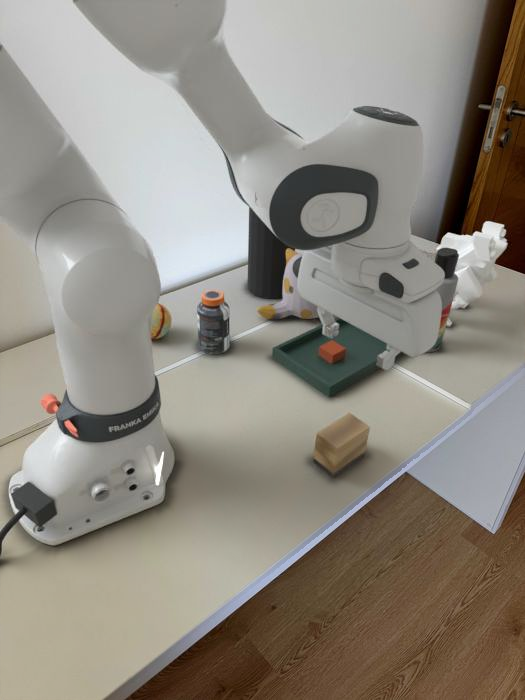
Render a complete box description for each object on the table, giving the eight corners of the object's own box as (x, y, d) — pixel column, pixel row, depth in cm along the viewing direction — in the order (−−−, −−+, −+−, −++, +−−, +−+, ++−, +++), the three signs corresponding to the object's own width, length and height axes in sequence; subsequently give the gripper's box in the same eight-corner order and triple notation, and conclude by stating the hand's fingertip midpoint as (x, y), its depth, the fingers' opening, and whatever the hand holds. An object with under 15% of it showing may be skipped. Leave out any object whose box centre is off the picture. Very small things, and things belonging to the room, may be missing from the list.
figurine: (353, 312, 111) (331, 253, 102) (281, 353, 110) (253, 298, 101) (328, 287, 120) (306, 231, 111) (262, 325, 120) (234, 272, 111)
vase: (301, 290, 123) (312, 154, 106) (267, 303, 117) (273, 162, 100) (271, 273, 129) (278, 143, 112) (238, 285, 124) (239, 150, 106)
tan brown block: (364, 455, 81) (370, 426, 78) (332, 477, 77) (337, 448, 74) (344, 440, 84) (349, 412, 80) (312, 461, 80) (316, 433, 76)
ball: (139, 348, 102) (136, 317, 98) (133, 329, 107) (129, 298, 103) (176, 342, 104) (174, 311, 100) (167, 323, 109) (165, 293, 105)
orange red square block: (331, 364, 98) (333, 355, 97) (318, 355, 101) (319, 346, 99) (344, 357, 100) (346, 348, 99) (331, 348, 103) (332, 340, 101)
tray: (328, 397, 92) (330, 386, 91) (271, 357, 101) (272, 347, 99) (406, 352, 104) (408, 342, 103) (349, 320, 113) (350, 310, 111)
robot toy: (432, 287, 126) (452, 203, 115) (493, 306, 120) (521, 220, 108) (399, 320, 113) (418, 230, 102) (466, 344, 107) (494, 251, 95)
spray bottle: (440, 354, 104) (467, 259, 92) (410, 350, 104) (433, 255, 93) (439, 338, 108) (463, 245, 97) (410, 334, 109) (431, 242, 98)
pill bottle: (236, 346, 103) (236, 294, 97) (213, 359, 100) (212, 306, 93) (214, 334, 107) (213, 283, 100) (191, 346, 103) (189, 293, 97)
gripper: (288, 235, 68) (285, 326, 77) (424, 296, 56) (404, 397, 64) (322, 222, 72) (316, 310, 80) (458, 277, 59) (434, 375, 68)
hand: (356, 350), depth 72 cm, fingers open, 8 cm apart
